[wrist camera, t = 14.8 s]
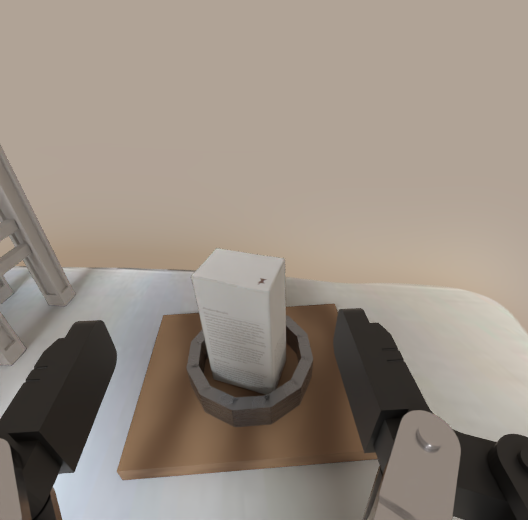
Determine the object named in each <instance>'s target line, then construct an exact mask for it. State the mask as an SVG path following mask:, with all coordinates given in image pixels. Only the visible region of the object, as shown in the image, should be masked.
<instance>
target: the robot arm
mask: <svg viewBox="0 0 528 520" xmlns="http://www.w3.org/2000/svg"><path fill="white" fill-rule="evenodd" d="M333 348H334V354H335V358H336V361H337V365H338V368H339V371H340V374H341V378H342V381H343V384H344V388H345V391H346V394H347V398H348V401H349V404H350V408H351V411H352V414H353V417H354V421H355V424H356V427H357V431H358V434H359V437H360V441H361V444H362V447H363V450H364V453H376V455H377V458H378V461H379V464H380V466H379V469H378V472H377V475H376V478H375V481H374V484H373V487H372V490H371V494H370V497H369V500H368V503H367V506H366V509H365V512H364V515H363V519H362V520H452V516H454V517H458V518H461V519H464V520H528V437H525V436H522V435H518V434H508V435H505V436H503V437H501V438H500V439H499V440H498V442H493V441H489V440H486V439H482V438H478V437H474V436H470V435H466V434H463V433H460V432H458V431H455V430H453V429H452V428H451V427H450V426H449V425H448V424H447V423H446V422H445V421H444V420H442V419H441V418H440V417H438V416H436V415H435V414H433V413H432V411H431V410H430V409H429V407H428V405H427V404H426V402H425V400H424V398H423V396H422V394H421V392H420V390H419V388H418V386H417V384H416V382H415V380H414V378H413V377H412V375H411V373H410V371H409V369H408V367H407V365H406V363H405V362H404V361H403V357H402V355H401V353H400V351H398V348H397V346H396V344H395V342H394V340H393V338H392V336H391V334H390V333H389V332H388V331H387V330H386V329H385V328H383V327H382V326H381V325H380V324H379V323H369V321H368V319H367V316H366V314H365V312H364V310H363V309H361V308H356V309H340V310H339V311H338V316H337V321H336V327H335V332H334V338H333ZM116 361H117V353H116V349H115V346H114V344H113V342H112V339H111V337H110V335H109V333H108V330H107V328H106V326H105V324H104V322H103V321H101V320H97V321H78V322H75V323H74V324H73V325H72V327H71V329H70V330H69V332H68V334H67V335H66V337H65V338H59V339H58V340H56V341H55V342H54V343H53V344H52V345H51V346H50V347H49V348H47V349H46V350H45V351H44V352H43V354H42V355H41V357H40V358H39V360H38V362H37V363H36V365H35V366H34V370H32V371H31V372H30V374H29V375H28V377H27V379H26V382H25V383H23V385H22V386H21V388H20V389H19V391H18V393H17V394H16V396H15V397H14V399H13V400H12V402H11V403H10V405H9V407H8V408H7V410H6V411H5V413H4V414H3V416H2V417H1V419H0V520H62V517H61V513H60V509H59V505H58V501H57V497H56V493H55V490H54V488H53V485H54V482H55V480H56V478H57V475H58V474H61V473H74V471H75V469H76V466H77V464H78V461H79V459H80V456H81V454H82V451H83V448H84V446H85V443H86V441H87V438H88V436H89V433H90V431H91V428H92V425H93V423H94V420H95V418H96V415H97V413H98V410H99V408H100V405H101V402H102V400H103V397H104V395H105V392H106V390H107V387H108V385H109V382H110V379H111V377H112V374H113V372H114V369H115V366H116Z"/></svg>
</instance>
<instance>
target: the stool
mask: <svg viewBox="0 0 528 520" xmlns="http://www.w3.org/2000/svg"><path fill="white" fill-rule="evenodd" d="M0 221H1V223H0V241H1V240H3V239H5V238H6V237H8V236H9V237H10V239H11V240H12V242H13V244H14V246H15V248H13V249H12V250H11V251H9V252H8V253H6V254H5V255H3V256H2V257H0V304H2V303H3V302H4V301H5V300H6V299H8V298H9V297H10V296H11V295H12V294H14V292H13V290H12V289H11V287H10V286H9V284H8V283H7V281H6V280H5V278H4V276H3V275H4V274H5V273H6V272H8V271H9V270H10V269H11V268H13V267H14V266H15V265H16V264H18V263H19V262H21V261H22V260H23V261H24V263H25V265H26V266H27V268H28V270H29V272H30V273H31V275H32V277H33V279H34V280H35V282H36V284H37V285H38V287H39V289H40V291H41V292H42V294H43V296H44V298H45V299H46V301H47V303H48V304H49V305H54V306H66V305H67V304H68V303H69V302H70V300H71V299H72V298H73V297H74V296H75V293H74V291H73V289H72V287H71V285H70V283H69V281H68V279H67V277H66V275H65V273H64V271H63V269H62V267H61V265H60V263H59V261H58V259H57V257H56V255H55V253H54V251H53V249H52V247H51V245H50V243H49V241H48V239H47V237H46V235H45V233H44V231H43V229H42V227H41V225H40V223H39V221H38V219H37V217H36V215H35V213H34V211H33V209H32V207H31V205H30V203H29V201H28V199H27V197H26V195H25V193H24V191H23V189H22V187H21V185H20V183H19V181H18V179H17V177H16V175H15V173H14V171H13V169H12V167H11V165H10V163H9V161H8V159H7V157H6V155H5V153H4V151H3V149H2V147H1V145H0ZM25 350H26V348H25V346H24V345H23V343H22V342H21V341H20V339H19V338H18V336H17V335H16V334H15V332H14V331H13V329H12V328H11V326H10V325H9V324H8V322H7V321H6V319H5V318H4V317H3V315H2V314H1V312H0V365H8V366H12V365H13V363H14V362H15V361H16V360H17V359H18V358H19V357H20V356H21V355H22V354H23V352H24V351H25Z"/></svg>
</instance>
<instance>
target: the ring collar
mask: <svg viewBox="0 0 528 520" xmlns="http://www.w3.org/2000/svg"><path fill="white" fill-rule="evenodd" d="M286 343H287V344H288V345H289V346H290V348H291V349H292V350H293V351H294V352H295V353H296V354H297V359H298V366H297V368H296V370H295V372H294V374H293V376H292V378H291V380H290V381H288V382H286V383H285V384H283V385H282V386H280V387H279V388H277V389H275V390H274V391H272V392H271V393H269V394H268V395H263V396H250V397H237V398H235V397H233V396H231V395H229V394H227V393H225V392H223V391H220V390H218V389H216V388H214V387H212V386H210V384H209V383H208V381H207V379H206V378H205V376H204V367H205V360H206V359H207V358H208V352H207V347H206V343H205V338H204V333H203V329H202V330H201V331H200V332H199V333H198V335H197V336H196V337H195V338H194V339H193V340H192V341H191V345H190V351H189V356H188V362H187V368H186V369H187V373H188V376H189V380H190V383H191V386H192V388H193V390H194V392H195V394H196V396H197V398H198V400H199V402H200V404H201V406H202V408H203V410H204V412H206V413H208V414H210V415H212V416H214V417H215V418H217V419H219V420H221V421H223V422H225V423H227V424H229V425H231V426H233V427H246V426H259V425H271V424H273V423H274V422H276V421H277V420H279V419H280V418H282V417H283V416H284V415H286V414H287V413H289V412H290V411H292V410H293V409H295V408H296V407H297V406H299V405H300V404H301V401H302V399H303V397H304V394H305V392H306V390H307V387H308V385H309V382H310V380H311V378H312V367H313V356H312V352H311V348H310V343H309V339H308V335H307V333H306V332H305V331H304V330H303V329H302V328H301V327H300V326H299V325H298V324H297V323H295V322H294V321H293V320H292V319H291V318H290V317H289V316H288V315H286Z"/></svg>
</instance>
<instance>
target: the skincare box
mask: <svg viewBox="0 0 528 520" xmlns="http://www.w3.org/2000/svg"><path fill="white" fill-rule="evenodd" d="M191 279H192V284H193V288H194V292H195V297H196V301H197V306H198V310H199V315H200V319H201V324H202V329H203V333H204V338H205V343H206V347H207V352H208V357H209V361H210V366H211V371H212V375H213V379H214V380H218V381H221V382H225V383H228V384H232V385H235V386H238V387H242V388H245V389H248V390H252V391H255V392H258V393H262V394H265V395H268V394H269V393H271V392H272V391H274V390H275V389H276V388H277V385H278V382H279V379H280V376H281V373H282V370H283V367H284V365H285V362H286V292H285V259H284V258H279V257H271V256H264V255H258V254H251V253H245V252H239V251H232V250H226V249H219V248H216V249H215V250H214V251H213V252H212V254H211V255H210V256H209V257H208V258H207V259H206V261H205V262H204V263H203V264H202V265H201V266H200V267H199V268H198V269H197V270H196V271H195V272H194V273H193V274H192V275H191Z"/></svg>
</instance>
